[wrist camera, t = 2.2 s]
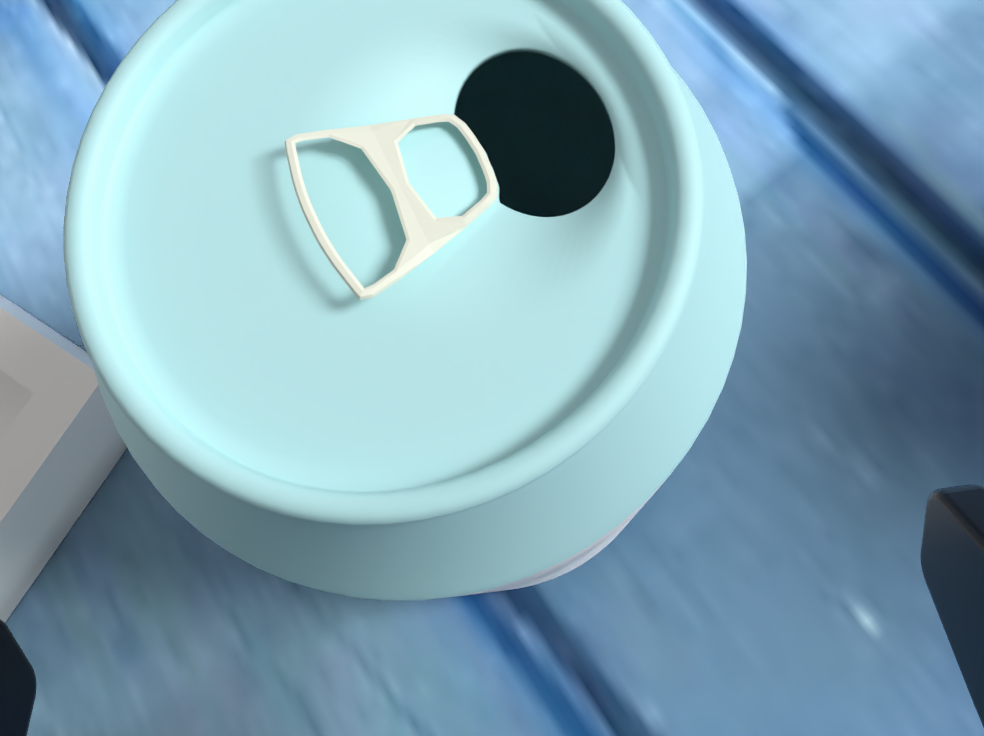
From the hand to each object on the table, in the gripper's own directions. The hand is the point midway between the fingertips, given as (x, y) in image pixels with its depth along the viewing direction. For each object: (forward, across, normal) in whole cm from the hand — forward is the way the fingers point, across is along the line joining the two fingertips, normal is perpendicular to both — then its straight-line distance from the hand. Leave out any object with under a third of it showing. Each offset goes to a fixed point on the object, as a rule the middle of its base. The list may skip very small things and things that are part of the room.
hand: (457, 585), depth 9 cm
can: (+10, 0, +5) cm, 11 cm away
